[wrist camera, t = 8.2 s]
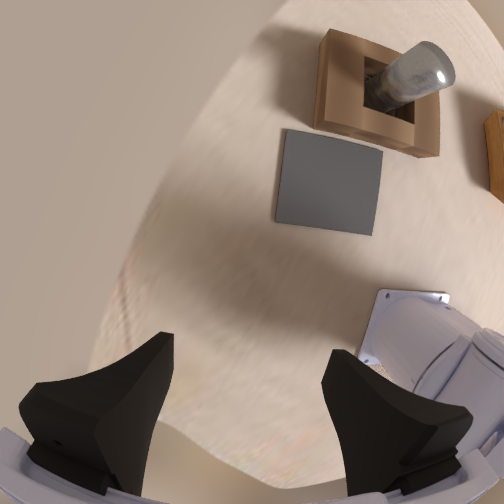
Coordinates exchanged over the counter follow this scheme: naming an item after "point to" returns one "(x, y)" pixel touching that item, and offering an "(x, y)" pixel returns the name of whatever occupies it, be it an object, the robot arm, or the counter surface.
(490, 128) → the soap dish
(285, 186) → the mat
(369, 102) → the peg
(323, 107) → the block
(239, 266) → the counter surface
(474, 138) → the counter surface
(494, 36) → the counter surface
